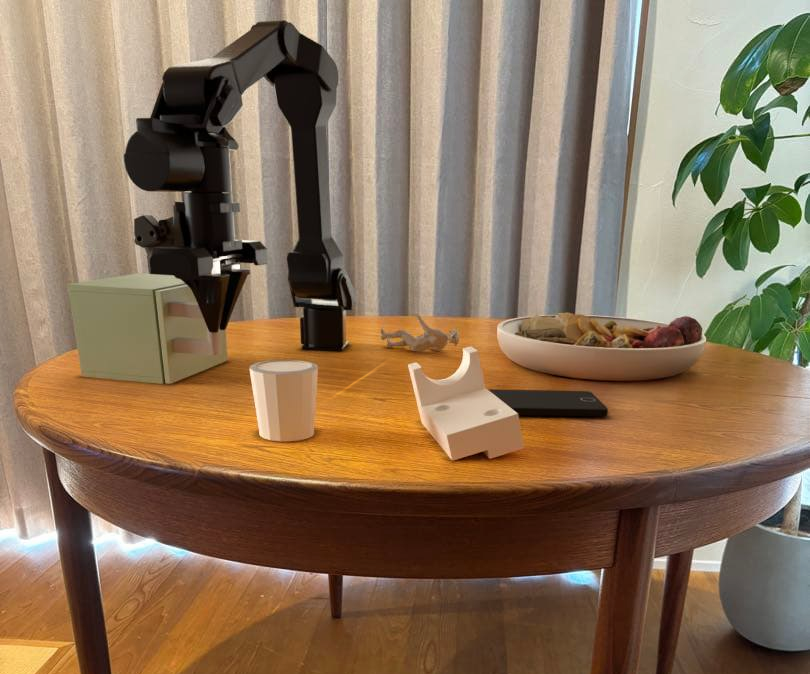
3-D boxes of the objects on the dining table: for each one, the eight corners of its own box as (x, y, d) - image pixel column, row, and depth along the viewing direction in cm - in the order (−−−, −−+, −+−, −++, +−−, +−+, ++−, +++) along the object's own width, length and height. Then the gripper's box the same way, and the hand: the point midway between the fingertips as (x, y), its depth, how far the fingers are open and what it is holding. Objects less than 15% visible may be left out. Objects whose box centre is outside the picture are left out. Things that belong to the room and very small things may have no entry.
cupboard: (221, 361, 111) (215, 277, 106) (163, 384, 97) (152, 289, 92) (148, 355, 114) (138, 273, 109) (81, 377, 100) (67, 284, 95)
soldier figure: (395, 350, 126) (464, 331, 122) (395, 374, 124) (466, 356, 120) (376, 321, 120) (449, 300, 116) (377, 346, 118) (451, 325, 114)
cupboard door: (268, 364, 109) (263, 281, 104) (215, 388, 95) (208, 294, 91) (223, 360, 111) (216, 278, 106) (165, 383, 97) (155, 290, 92)
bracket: (423, 430, 84) (407, 364, 81) (484, 412, 85) (470, 346, 81) (454, 469, 73) (437, 394, 69) (524, 448, 73) (510, 372, 70)
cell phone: (608, 417, 87) (609, 409, 86) (450, 415, 86) (451, 406, 86) (589, 398, 95) (590, 390, 94) (445, 395, 94) (445, 388, 94)
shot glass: (326, 425, 82) (324, 360, 79) (312, 445, 76) (310, 374, 73) (263, 422, 82) (259, 357, 79) (245, 441, 76) (240, 371, 73)
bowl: (470, 372, 107) (473, 315, 104) (522, 339, 133) (526, 292, 129) (694, 396, 97) (705, 333, 94) (704, 355, 123) (713, 304, 119)
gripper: (186, 191, 98) (197, 316, 104) (95, 190, 82) (115, 338, 88) (266, 193, 95) (272, 321, 102) (189, 192, 79) (202, 345, 85)
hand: (217, 331), depth 94 cm, fingers closed on cupboard door, 2 cm apart
